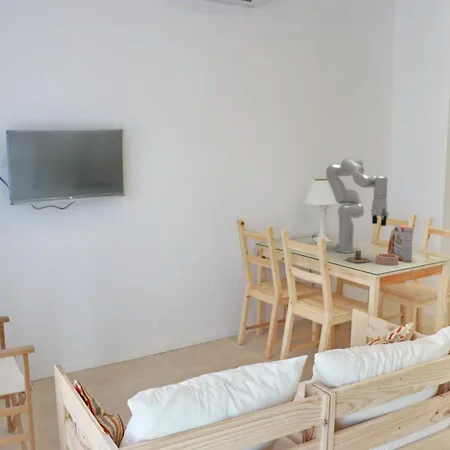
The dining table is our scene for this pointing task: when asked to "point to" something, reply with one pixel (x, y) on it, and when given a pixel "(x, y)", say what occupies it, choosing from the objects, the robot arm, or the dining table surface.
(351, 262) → the mat
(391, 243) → the milk carton
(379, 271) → the dining table surface
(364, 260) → the lid
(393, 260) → the bowl
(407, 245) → the cracker box
